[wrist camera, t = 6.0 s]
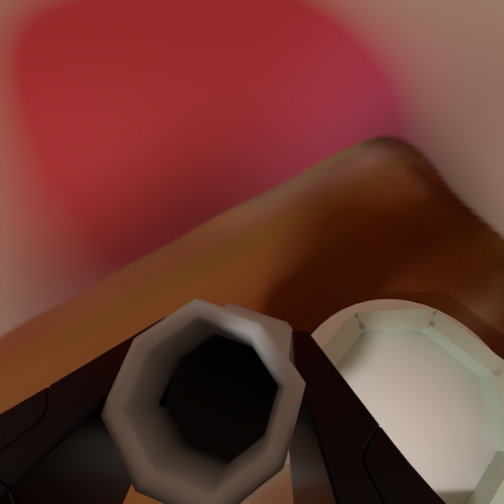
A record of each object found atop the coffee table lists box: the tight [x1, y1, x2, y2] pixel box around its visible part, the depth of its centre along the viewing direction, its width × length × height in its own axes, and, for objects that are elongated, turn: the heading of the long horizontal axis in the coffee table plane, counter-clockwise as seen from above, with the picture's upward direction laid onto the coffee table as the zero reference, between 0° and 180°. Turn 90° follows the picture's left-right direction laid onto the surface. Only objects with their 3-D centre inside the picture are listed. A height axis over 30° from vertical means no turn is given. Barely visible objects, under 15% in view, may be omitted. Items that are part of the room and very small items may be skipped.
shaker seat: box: [311, 299, 504, 504], centre depth 18 cm, size 13×13×2 cm
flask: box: [100, 298, 306, 504], centre depth 10 cm, size 7×7×10 cm
